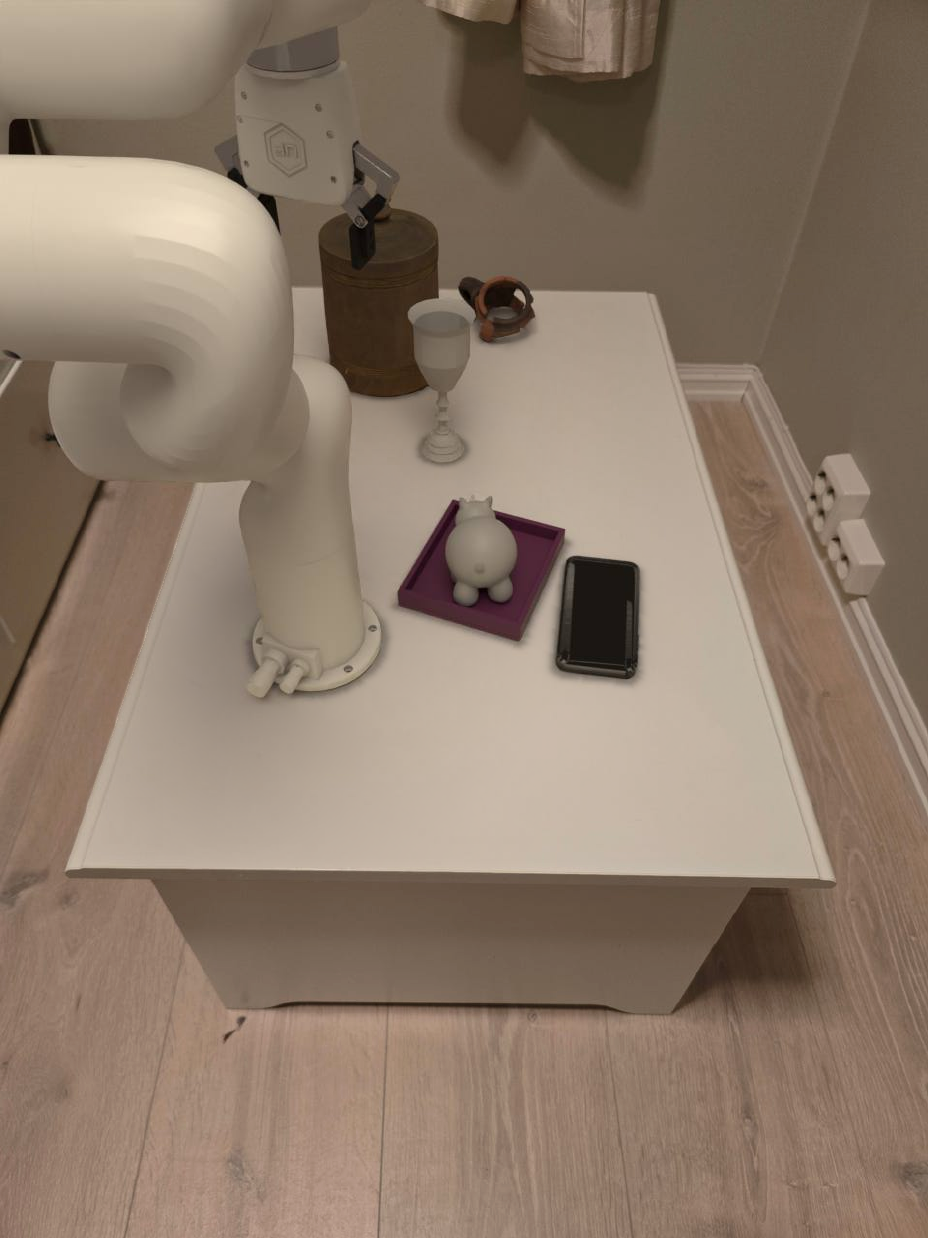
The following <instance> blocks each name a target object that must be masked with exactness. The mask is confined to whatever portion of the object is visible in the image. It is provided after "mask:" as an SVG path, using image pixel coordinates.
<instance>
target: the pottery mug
mask: <svg viewBox="0 0 928 1238" xmlns="http://www.w3.org/2000/svg"><path fill="white" fill-rule="evenodd" d="M457 289H458V293H459V295H460V296H461V298H462V299H463V300H464V301H465V303H466V304H467V305H469V306H471V307H472V309H473V310H474V311H475V316H476V315H477V318H478V320H479V322H480V324H482V325H481V328H480V331H479V337H480V338H481V339H483V340H484V341H486V342H490V341H491V340H493V339H500V338H501V339H502V338H505V337H508V336H513V335H516V334H519V333H520V332H521V329H525V328H526V327H527V326H528V324H529V323H530V322H531V321H532V320H533V319H535V318H536V313H535V310H534V308H533V306H532V304H533V303H534V300H535V298H534V296H533V294H531V290H530V288H528V287H527V285H526V284H525V283H524V282H523V281H520V280H519V279H517V278H515V277H512V276H503V275H501V276H495V277H493V278H491V279H489V280H487V281H486V282H484V281H482V280H480V279H478V278H476V277H472V276H465V277H462V279H461V280H460V282H459V284H458V286H457ZM517 290H520V292H521V293H522V294H523V296H524V299H525V302H523V301H522V300H521V299H520V298H519V297H517V296H516V295H515V292H516V291H517ZM497 308H509V309H512V310H513V311H516V312H517V313H518V314H517V315H515V316H512V317H508V318H503V317H502V318H501V317H498V316H493V320H491V319H490V318H489V317H488V314H489V312H490V311H491V310H494V309H497Z"/></svg>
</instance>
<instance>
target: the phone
mask: <svg viewBox="0 0 928 1238" xmlns="http://www.w3.org/2000/svg"><path fill="white" fill-rule="evenodd" d="M640 572H641V570H640V567H639V565H638V564H637V563H635V562H634V561H630V560H621V559H614V558H613V559H611V558H605V557H593V556H584V555H572V556H569V557H568V558H567V559H566V561H565V565H564V575H563V576H564V577H563V585H562V586H563V587H562V595H561V606H560V615H559V616H560V617H559V626H558V635H557V645H556V646H557V647H556V656H555V665H556V667H558V668H559V669H560V670H561V671H564V672H566V673H567V672H568V673H578V674H584V675H585V674H586V675H593V676H594V675H595V676H600V677H601V676H603V677H610V678H611V677H612V678H618V679H630V678H632V677H633V676H634V675H635V674H636V671H637V668H638V664H639V663H638V662H639V661H638V660H639V642H640V634H639V620H640V619H639V618H640V616H639V615H640V577H641V576H640V574H641V573H640Z"/></svg>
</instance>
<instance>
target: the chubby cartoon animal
mask: <svg viewBox="0 0 928 1238" xmlns="http://www.w3.org/2000/svg"><path fill="white" fill-rule="evenodd" d="M458 501H459V507H460V508H459V510H458V512H457V514H456V519H455V523H456V527H455V528H454V529H453V530H452V532H451V533H450V535H449V537H448V540H447V543H446V548H445V556H446V561H447V564H448V567H449V569H450V571H451V578H452V580H453V582H455V583H456V585H455V587H454V591H453V598H454V600H455V602H456V603H457V604H459V605H461V606H465V607H468V606H472V605H474V604H475V603H476V602H477V600H478V597H479V590H478V588H488V595H489V597H490V598H491V599H492V600H493V601H495V602H500V603H503V602H506V601H508V600H509V599H510V598H511V596H512V594H513V586H512V582H511V580H510V578H509V574H510V573H511V571H512V570H513V568H514V565H515V563H516V559H517V545H516V541H515V538H514V536H513V534H512V533H511V531H510V530H509V529H508V527H507V526H506V525H504V524H503V523H502V522H500V521H499V520H497V519H496V517H495V513H494V511H493V510H494V509H493V508H492V506H493V502H494V501H493V496H492V495H490V496H487V498H486V499H484V500H483V501H482V500H476V497H475V494H474V493H473V492H472V493H471V495H470V498H469V500H468V501H467V500H466V499H465V498H464V497H462V496H460V497H459V499H458Z"/></svg>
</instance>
